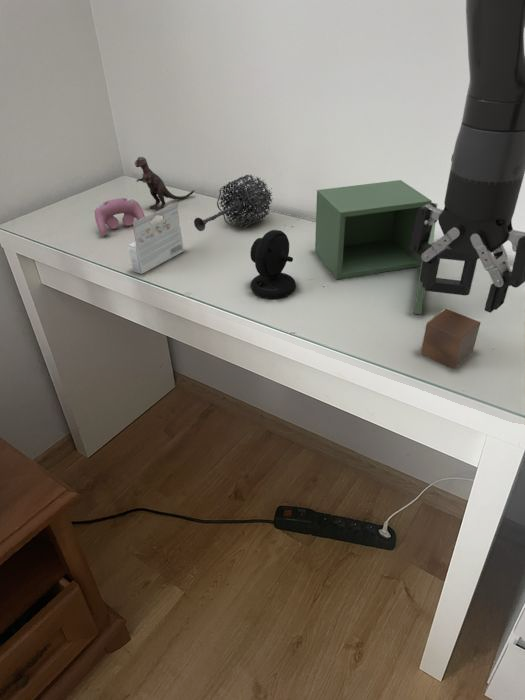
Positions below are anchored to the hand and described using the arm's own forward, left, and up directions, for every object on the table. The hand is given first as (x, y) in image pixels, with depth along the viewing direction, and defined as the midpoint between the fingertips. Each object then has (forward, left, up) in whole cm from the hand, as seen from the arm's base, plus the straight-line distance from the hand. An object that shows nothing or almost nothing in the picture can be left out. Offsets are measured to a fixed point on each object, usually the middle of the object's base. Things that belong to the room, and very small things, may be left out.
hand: (458, 297), depth 67 cm
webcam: (+30, +3, -9) cm, 31 cm away
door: (+9, -14, -9) cm, 19 cm away
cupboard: (+25, -16, -9) cm, 31 cm away
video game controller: (+71, +6, -9) cm, 72 cm away
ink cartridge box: (+52, +10, -9) cm, 54 cm away
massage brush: (+53, -10, -9) cm, 55 cm away
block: (0, 0, -9) cm, 9 cm away
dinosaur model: (+75, -9, -9) cm, 76 cm away
